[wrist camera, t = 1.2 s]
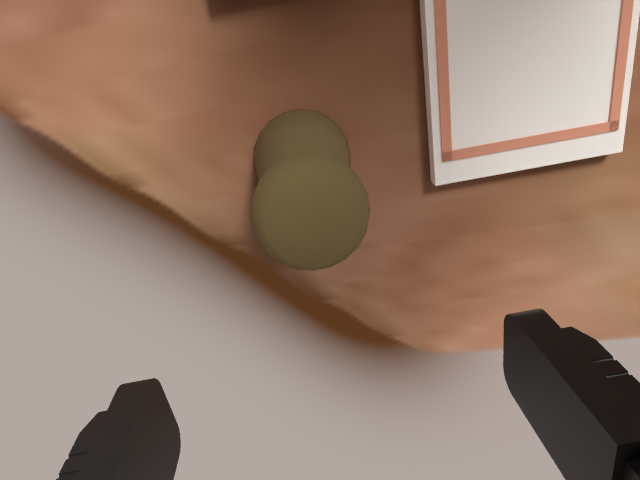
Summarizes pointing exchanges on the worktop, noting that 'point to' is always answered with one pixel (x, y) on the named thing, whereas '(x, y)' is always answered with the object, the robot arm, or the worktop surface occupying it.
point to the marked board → (524, 82)
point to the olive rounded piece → (307, 192)
